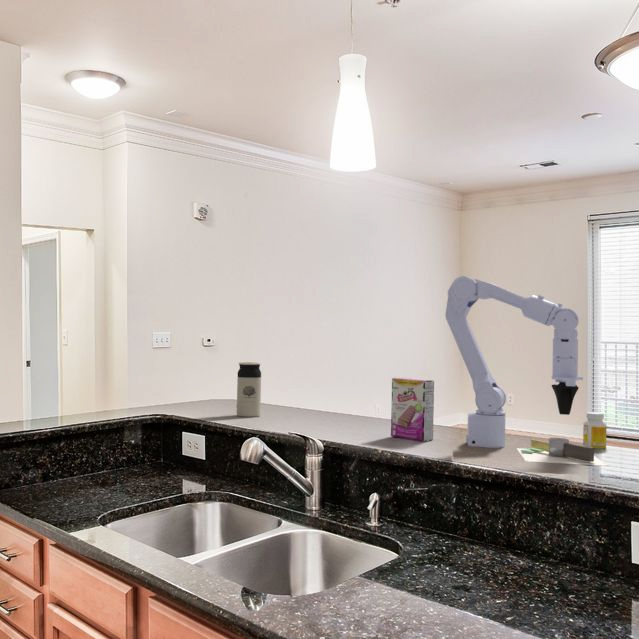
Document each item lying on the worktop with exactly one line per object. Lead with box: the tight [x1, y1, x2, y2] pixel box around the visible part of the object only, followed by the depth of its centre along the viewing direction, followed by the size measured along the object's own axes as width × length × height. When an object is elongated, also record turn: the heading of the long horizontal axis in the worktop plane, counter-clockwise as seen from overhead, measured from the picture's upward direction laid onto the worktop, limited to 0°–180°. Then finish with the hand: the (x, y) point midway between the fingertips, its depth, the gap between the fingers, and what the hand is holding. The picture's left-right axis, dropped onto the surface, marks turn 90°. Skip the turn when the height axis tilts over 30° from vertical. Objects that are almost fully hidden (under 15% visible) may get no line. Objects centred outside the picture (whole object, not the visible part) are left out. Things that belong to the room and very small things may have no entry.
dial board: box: [515, 447, 609, 467], centre depth 149 cm, size 17×17×1 cm
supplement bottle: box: [582, 411, 607, 450], centre depth 163 cm, size 5×5×10 cm
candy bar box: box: [390, 376, 435, 442], centre depth 177 cm, size 11×5×16 cm, turn 47°
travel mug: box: [236, 361, 262, 418], centre depth 219 cm, size 8×8×18 cm
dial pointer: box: [530, 437, 595, 462], centre depth 149 cm, size 17×4×4 cm, turn 29°
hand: (564, 414), depth 156 cm, fingers closed
